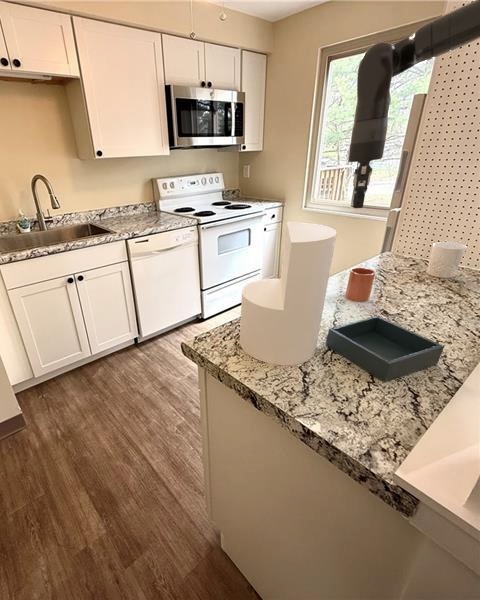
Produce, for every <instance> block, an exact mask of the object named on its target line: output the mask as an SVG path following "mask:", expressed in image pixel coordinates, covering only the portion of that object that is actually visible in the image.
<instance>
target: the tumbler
mask: <svg viewBox="0 0 480 600" xmlns="http://www.w3.org/2000/svg"><path fill="white" fill-rule="evenodd" d="M375 278H376V270H373V269H371V268H367V267H353V268H351V269H350V271H349V275H348V281H347V285H346V290H345V295H344V297H345V298H346V299H347V300H350V301H353V302H357V303H358V302H359V303H362V302H368V301H369V300H370V298H371V294H372V289H373V285H374V281H375Z"/></svg>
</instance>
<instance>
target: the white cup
mask: <svg viewBox="0 0 480 600" xmlns="http://www.w3.org/2000/svg"><path fill="white" fill-rule="evenodd" d="M467 248H468V246H467V245H466V244H463V243H459V242H453V241H438V242H433V244H432V248H431V252H430V256H429V260H428V266H427V269H426V274H427V275H429V276H431V277H434V278H441V279H451V278H454V276H455V273H456V271H457V270H458V268H459V266H460V264H461V262H462V260H463V258H464V255H465V253H466V251H467Z"/></svg>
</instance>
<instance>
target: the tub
mask: <svg viewBox="0 0 480 600" xmlns="http://www.w3.org/2000/svg"><path fill="white" fill-rule="evenodd" d="M325 346H326V347H327V348H329V349H331V350H332V351H333V352H335V353H336V354H338V355H340V356H342V357H343V358H345V359H346V360H348V361H349V362H350V363H353V364H354V365H356V366H357V367H359V368H360V369H362V370H364V371H365V372H367V373H368V374H370V375H372V376H373V377H374V378H376V379H378V380H379V381H381V382H382V383H387V382H390V381H393V380H396V379H399V378H402V377H405V376H408V375H410V374H413V373H416V372H420V371H422V370H425V369H429V368H431V367H434V366H437V365H439V361H440V359H441V357H442V353H443V351H444V348H445V345H442V344H441V343H438V342H436V341H434V340H432V339H429V338H427V337H425V336H423V335H421V334H419V333H416V332H414V331H412V330H409V329H407V328H405V327H404V326H401V325H399V324H396V323H394V322H391V321H390V320H387V319H385V318H383V317H381V316H379V315H374V316H371V317H368V318H364V319H360V320H357V321H352V322H350V323H346V324H342V325H337V326H334V327H331V328H329V329H328V332H327V337H326V343H325Z"/></svg>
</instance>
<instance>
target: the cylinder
mask: <svg viewBox="0 0 480 600" xmlns="http://www.w3.org/2000/svg"><path fill="white" fill-rule="evenodd" d="M337 234H338V233H337V230H336V229H334V228H333V227H331V226H329V225H324V224H320V223H312V222H305V221H304V222H301V221H286V223H285V230H284V240H283V241H284V242H283V250H282V251H283V252H282V261H281V270H280V278H263V279H259V280H255V281H252V282H249V283H247V284H246V285H244V286H243V288H242V290H241V304H240V305H241V306H240V323H239V324H240V325H239V346H240V347H241V349H242V350H243V351H244V352H245V353H246V354H247V355H248V356H250V357H252V358H254V359H255V360H257V361H260V362H263V363H265V364H270V365H275V366H296V365H300V364H305V363H306V362H308V361H310V360H311V359H313V357H314V356H315V355H316V351H317V347H318V340H319V335H320V328H321V323H322V317H323V311H324V307H325V301H326V296H327V290H328V284H329V279H330V273H331V269H332V268H331V267H332V262H333V256H334V251H335V245H336V241H337V239H336V238H337Z"/></svg>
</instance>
